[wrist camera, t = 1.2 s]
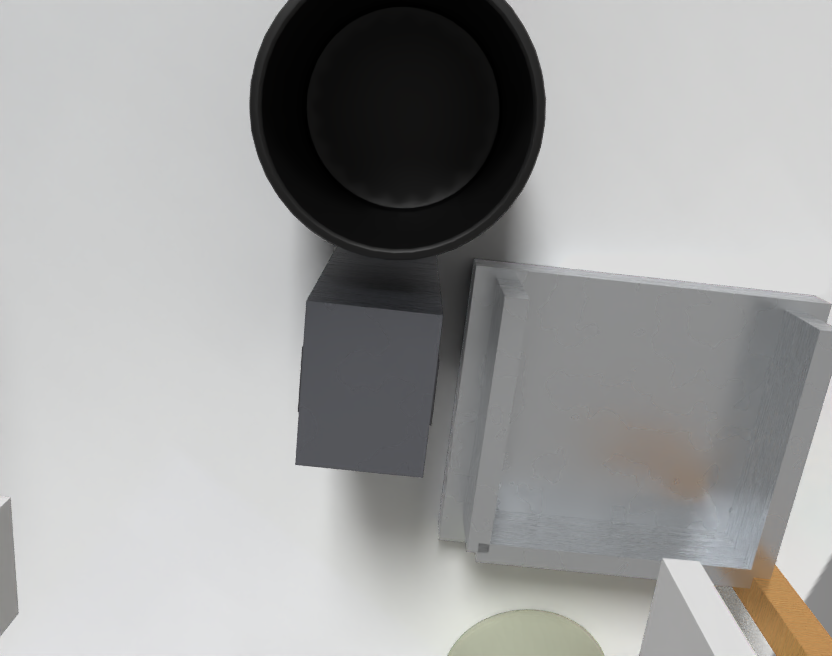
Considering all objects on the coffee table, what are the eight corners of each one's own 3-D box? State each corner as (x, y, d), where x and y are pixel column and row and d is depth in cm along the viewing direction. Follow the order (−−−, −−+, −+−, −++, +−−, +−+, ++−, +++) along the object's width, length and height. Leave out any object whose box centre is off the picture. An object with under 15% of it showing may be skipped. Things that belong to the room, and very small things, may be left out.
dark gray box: (326, 365, 35) (292, 464, 26) (336, 243, 33) (303, 300, 24) (423, 375, 35) (425, 477, 26) (438, 254, 33) (446, 315, 24)
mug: (587, 12, 30) (655, -23, 22) (441, 257, 33) (449, 311, 25) (390, -116, 29) (379, -208, 20) (257, 152, 32) (198, 171, 23)
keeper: (438, 523, 38) (448, 743, 25) (474, 258, 33) (508, 357, 21) (741, 552, 38) (907, 784, 25) (814, 295, 34) (1056, 414, 21)
